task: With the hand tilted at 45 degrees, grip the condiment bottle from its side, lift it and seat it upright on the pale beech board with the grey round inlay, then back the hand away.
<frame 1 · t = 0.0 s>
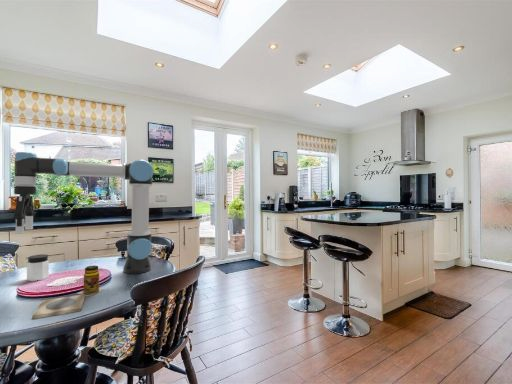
hand: (24, 231, 120), 28 cm above the table, tool pointing down, fingers open, 13 cm apart
jar: (37, 279, 138), on the table
board: (61, 306, 105), on the table
condiment: (90, 292, 121), on the table
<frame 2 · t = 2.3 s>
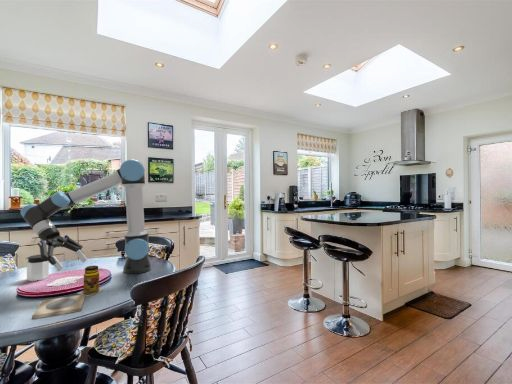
hand: (73, 264, 122), 12 cm above the table, tool tilted 45°, fingers open, 13 cm apart
nothing on the table moved.
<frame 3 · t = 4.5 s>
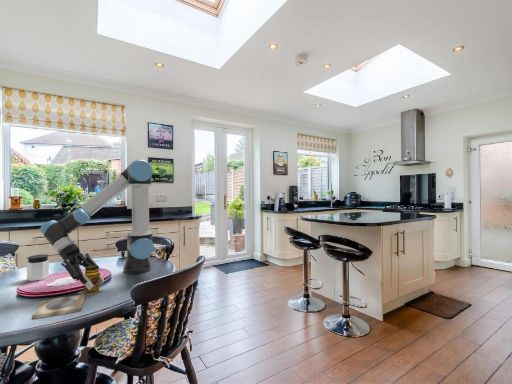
hand: (97, 285, 120), 3 cm above the table, tool tilted 45°, fingers closed on condiment, 6 cm apart
condiment: (90, 292, 121), on the table, touching gripper
everything else where it was.
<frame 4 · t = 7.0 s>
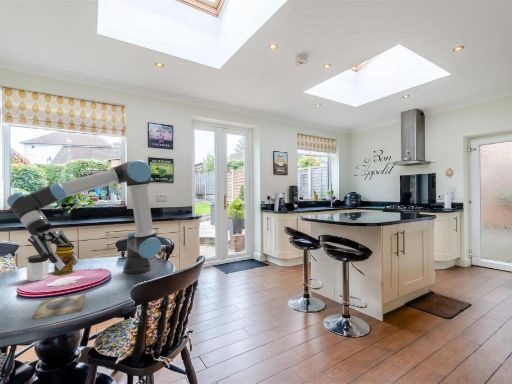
hand: (69, 265, 106), 17 cm above the table, tool tilted 45°, fingers closed on condiment, 6 cm apart
condiment: (62, 273, 106), point 13 cm above the table, touching gripper
everything else where it was.
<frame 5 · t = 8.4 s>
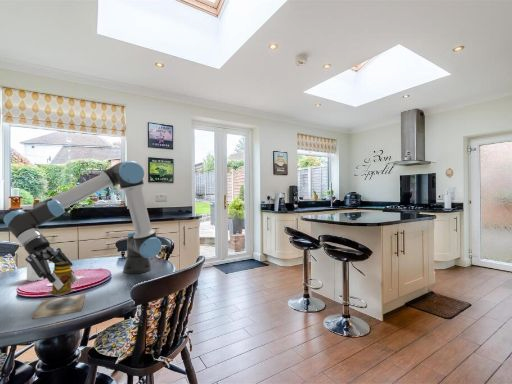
hand: (68, 284, 104), 10 cm above the table, tool tilted 45°, fingers closed on condiment, 6 cm apart
condiment: (60, 292, 105), point 6 cm above the table, touching gripper
everything else where it was.
when the fingers open (5 cm above the table, at t = 9.5 s): condiment stays where it is, resting on board.
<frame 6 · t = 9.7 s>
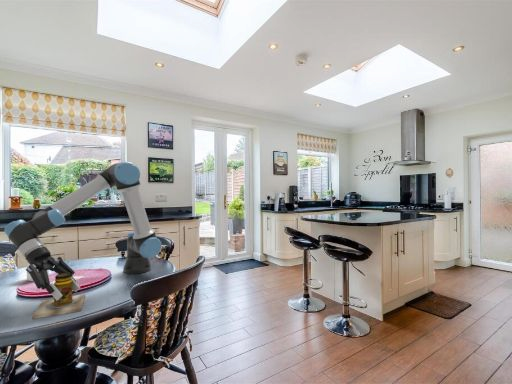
hand: (68, 293, 105), 6 cm above the table, tool tilted 45°, fingers open, 8 cm apart
condiment: (61, 303, 106), point 1 cm above the table, touching board
everything else where it was.
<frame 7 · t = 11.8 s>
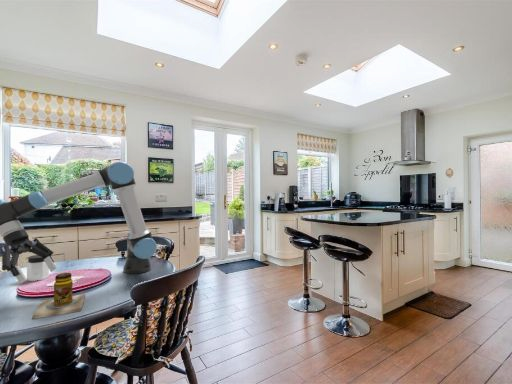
hand: (39, 275, 109), 11 cm above the table, tool tilted 35°, fingers open, 13 cm apart
nothing on the table moved.
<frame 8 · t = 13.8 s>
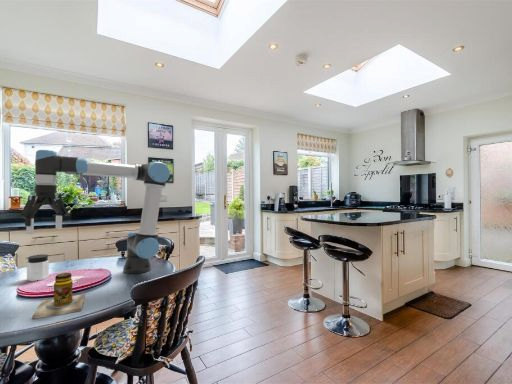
hand: (45, 231, 117), 29 cm above the table, tool pointing down, fingers open, 13 cm apart
nothing on the table moved.
at the end: condiment inside the target area on the board (0.3 cm from its centre), point 1.1 cm above the board's base; condiment tilted 0°; the gripper is holding nothing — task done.
